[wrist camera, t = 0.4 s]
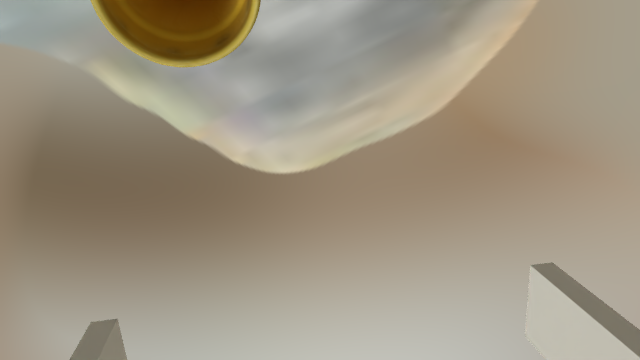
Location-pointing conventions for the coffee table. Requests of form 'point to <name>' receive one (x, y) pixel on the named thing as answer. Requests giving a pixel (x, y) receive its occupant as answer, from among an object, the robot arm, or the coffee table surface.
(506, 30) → the coffee table surface
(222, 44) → the plant pot
